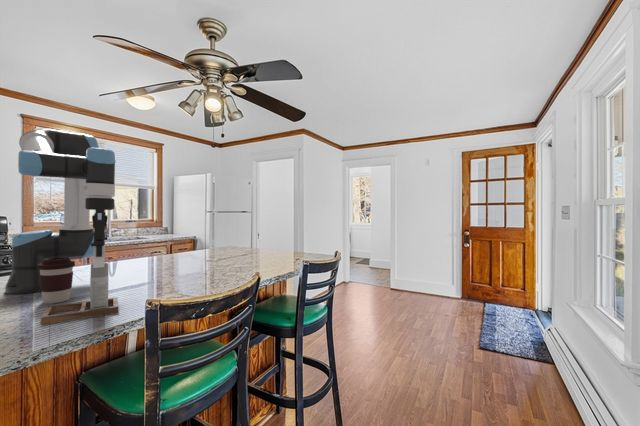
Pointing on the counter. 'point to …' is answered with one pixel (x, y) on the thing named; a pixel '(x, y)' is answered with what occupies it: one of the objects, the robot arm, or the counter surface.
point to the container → (99, 287)
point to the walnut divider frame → (83, 313)
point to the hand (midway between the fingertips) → (99, 263)
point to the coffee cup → (56, 279)
